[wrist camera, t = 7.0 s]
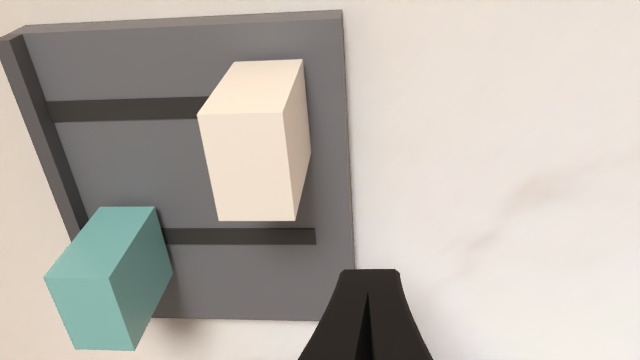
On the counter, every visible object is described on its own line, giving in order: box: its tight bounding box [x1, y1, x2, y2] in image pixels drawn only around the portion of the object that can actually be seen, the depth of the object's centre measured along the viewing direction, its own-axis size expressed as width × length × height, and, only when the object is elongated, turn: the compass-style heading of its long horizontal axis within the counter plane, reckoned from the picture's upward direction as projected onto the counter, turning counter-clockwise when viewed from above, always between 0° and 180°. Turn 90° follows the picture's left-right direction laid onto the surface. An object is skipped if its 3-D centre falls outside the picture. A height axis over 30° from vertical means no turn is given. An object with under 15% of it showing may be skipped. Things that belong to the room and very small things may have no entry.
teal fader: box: [43, 206, 173, 351], centre depth 21 cm, size 4×2×4 cm, turn 4°
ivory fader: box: [197, 59, 311, 221], centre depth 17 cm, size 4×2×4 cm, turn 4°
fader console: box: [0, 10, 355, 321], centre depth 22 cm, size 14×12×2 cm
